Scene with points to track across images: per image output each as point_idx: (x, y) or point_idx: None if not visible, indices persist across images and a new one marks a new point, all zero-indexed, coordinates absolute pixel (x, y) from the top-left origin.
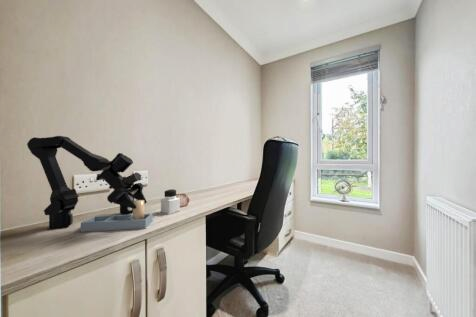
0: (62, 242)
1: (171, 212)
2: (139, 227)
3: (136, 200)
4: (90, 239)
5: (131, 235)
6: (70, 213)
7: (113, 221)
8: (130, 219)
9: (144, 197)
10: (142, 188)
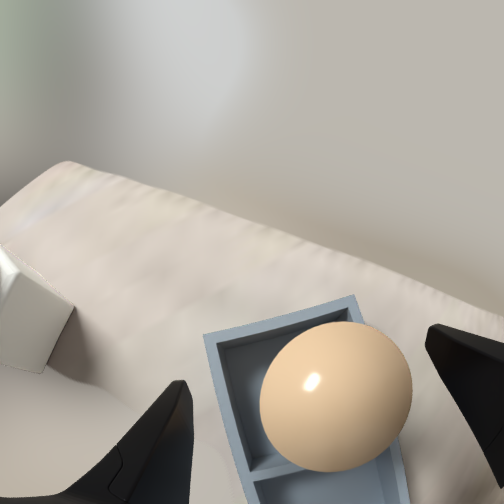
0: (487, 501)
1: (62, 296)
2: None
3: (310, 457)
4: (475, 448)
5: (426, 316)
6: None
7: (405, 483)
8: None
9: (140, 423)
10: (2, 497)
